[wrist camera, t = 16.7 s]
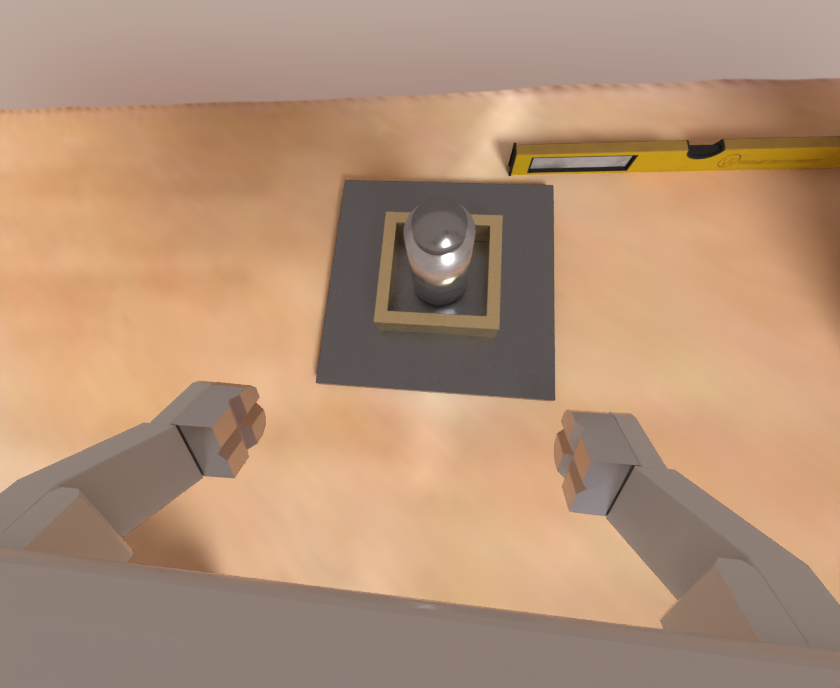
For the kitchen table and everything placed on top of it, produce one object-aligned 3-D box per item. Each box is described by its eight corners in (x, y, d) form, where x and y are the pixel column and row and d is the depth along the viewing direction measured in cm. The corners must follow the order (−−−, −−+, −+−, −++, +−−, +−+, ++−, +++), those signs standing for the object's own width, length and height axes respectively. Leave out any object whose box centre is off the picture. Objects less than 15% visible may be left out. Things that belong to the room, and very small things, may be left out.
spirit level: (869, 158, 32) (912, 131, 29) (873, 170, 31) (917, 144, 28) (507, 166, 34) (513, 142, 31) (508, 177, 34) (514, 154, 31)
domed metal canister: (467, 256, 31) (478, 190, 22) (465, 306, 30) (475, 258, 21) (415, 254, 31) (405, 188, 22) (410, 303, 30) (398, 255, 21)
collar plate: (550, 192, 33) (562, 165, 29) (551, 401, 28) (566, 398, 25) (347, 186, 34) (337, 161, 31) (319, 384, 30) (304, 379, 26)
